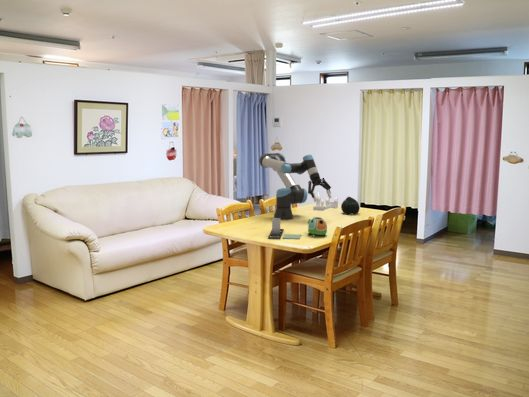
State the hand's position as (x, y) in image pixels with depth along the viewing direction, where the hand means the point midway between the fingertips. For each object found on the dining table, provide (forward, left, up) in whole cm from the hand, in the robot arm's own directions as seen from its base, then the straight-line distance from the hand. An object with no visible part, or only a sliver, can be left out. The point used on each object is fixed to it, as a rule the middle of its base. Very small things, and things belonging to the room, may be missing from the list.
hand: (323, 199), depth 371 cm
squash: (-9, +44, -18) cm, 48 cm away
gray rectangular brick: (+7, -56, -17) cm, 59 cm away
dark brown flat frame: (+7, -56, -17) cm, 59 cm away
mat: (+19, -53, -17) cm, 59 cm away
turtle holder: (+25, -36, -18) cm, 47 cm away
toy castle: (-38, +47, -18) cm, 63 cm away
